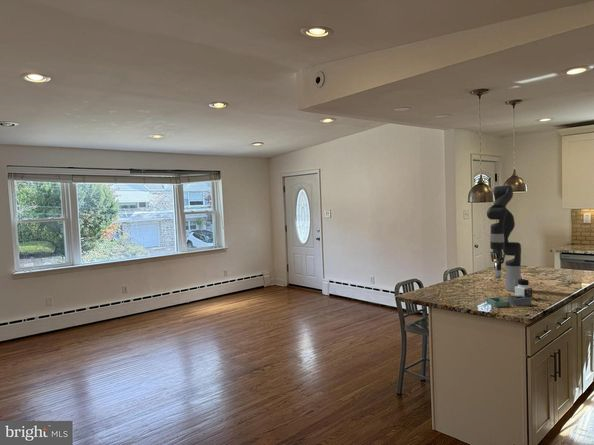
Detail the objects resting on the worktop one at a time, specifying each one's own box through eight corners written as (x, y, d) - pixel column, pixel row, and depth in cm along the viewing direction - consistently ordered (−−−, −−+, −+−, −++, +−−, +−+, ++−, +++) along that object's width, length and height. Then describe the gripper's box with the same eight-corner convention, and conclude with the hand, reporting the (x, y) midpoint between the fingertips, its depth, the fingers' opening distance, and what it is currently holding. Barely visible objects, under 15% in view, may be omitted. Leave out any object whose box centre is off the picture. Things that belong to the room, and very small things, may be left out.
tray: (486, 302, 254) (486, 297, 254) (499, 302, 254) (499, 297, 254) (495, 307, 242) (495, 302, 242) (509, 307, 242) (509, 302, 242)
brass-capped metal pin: (492, 277, 250) (492, 259, 249) (499, 277, 250) (499, 258, 249) (496, 278, 245) (495, 260, 245) (503, 278, 245) (503, 259, 245)
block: (508, 302, 253) (508, 295, 253) (522, 301, 253) (522, 295, 252) (515, 306, 244) (515, 299, 244) (531, 305, 244) (531, 298, 243)
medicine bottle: (524, 299, 257) (524, 280, 257) (514, 297, 264) (514, 279, 263) (532, 298, 260) (532, 279, 260) (522, 296, 267) (522, 277, 266)
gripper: (485, 240, 253) (486, 268, 254) (496, 242, 239) (497, 271, 240) (497, 239, 253) (498, 267, 254) (509, 242, 239) (509, 271, 240)
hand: (497, 269), depth 247 cm, fingers closed on brass-capped metal pin, 3 cm apart
